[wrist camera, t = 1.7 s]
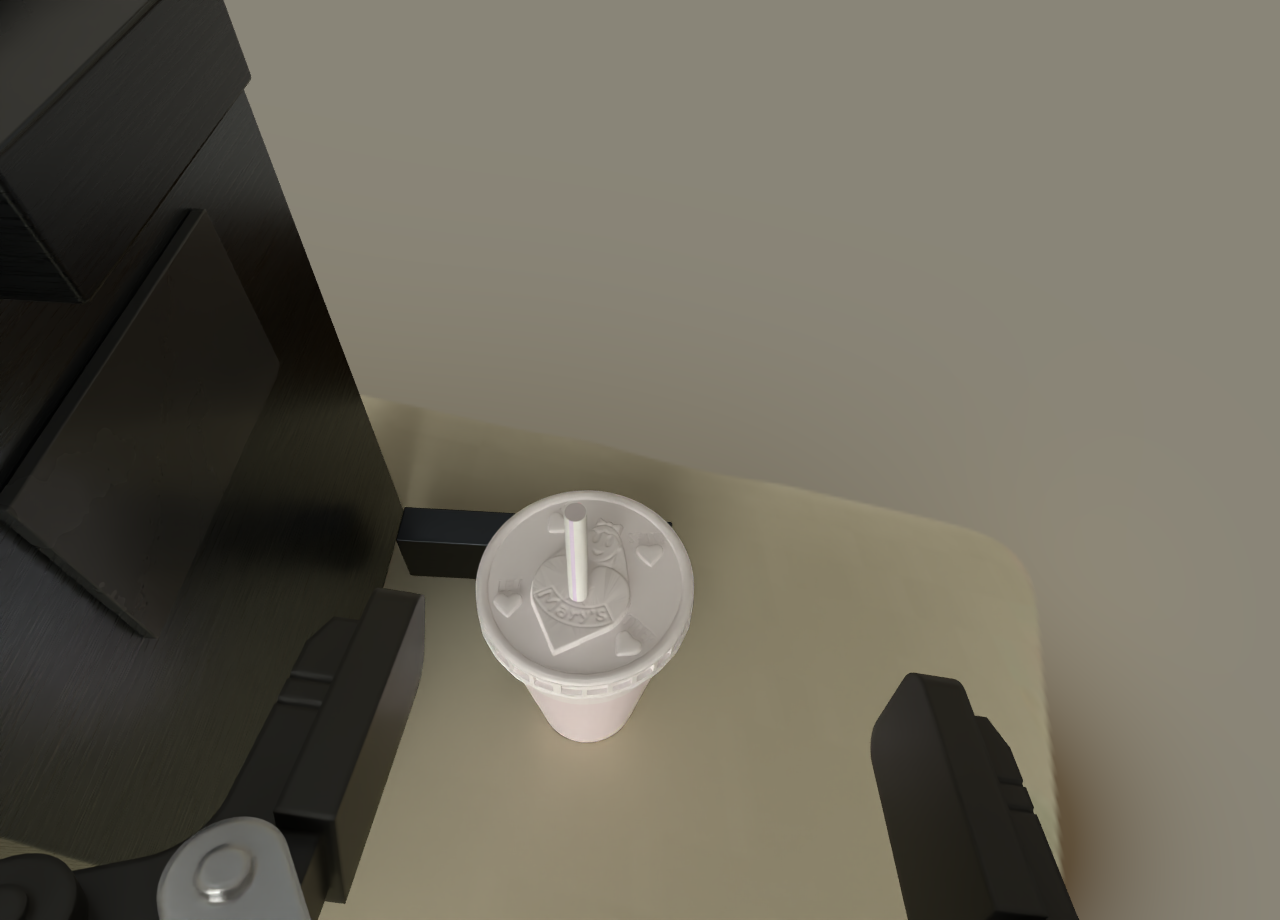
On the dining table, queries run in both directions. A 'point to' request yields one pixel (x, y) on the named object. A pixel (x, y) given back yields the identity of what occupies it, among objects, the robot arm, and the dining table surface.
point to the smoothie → (585, 605)
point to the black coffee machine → (164, 433)
